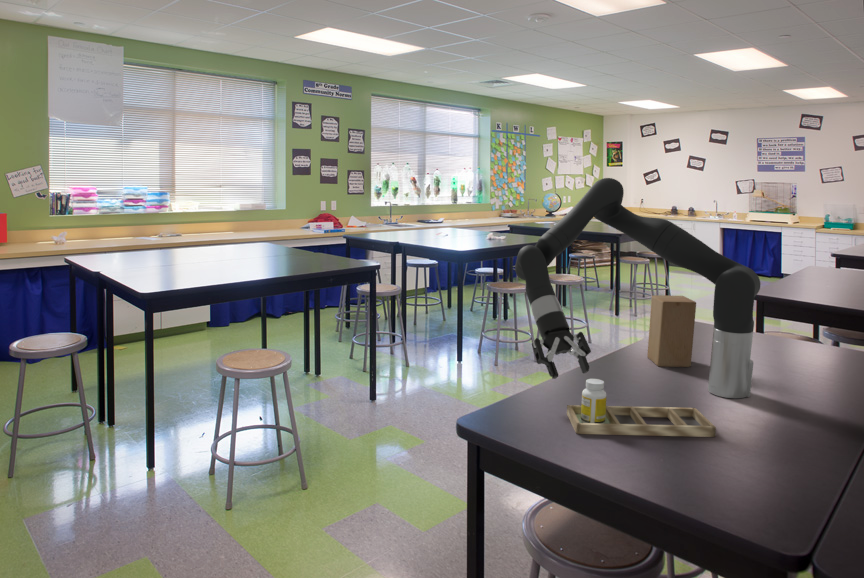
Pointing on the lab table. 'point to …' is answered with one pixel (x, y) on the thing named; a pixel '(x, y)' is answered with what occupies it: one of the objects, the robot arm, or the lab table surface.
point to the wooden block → (671, 331)
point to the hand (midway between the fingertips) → (571, 374)
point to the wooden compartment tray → (631, 423)
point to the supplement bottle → (593, 402)
